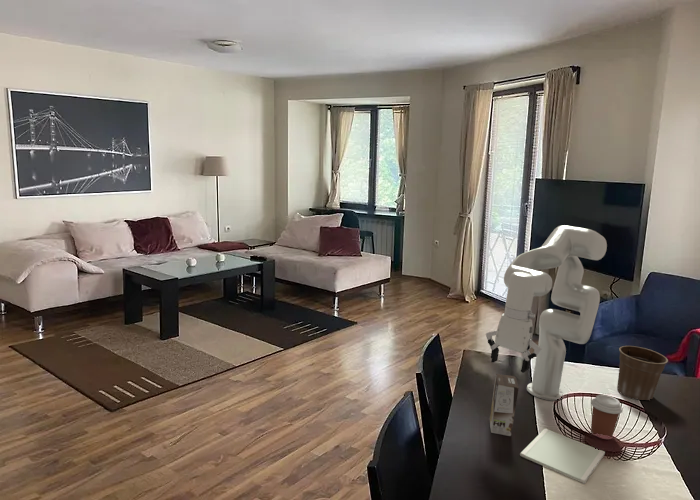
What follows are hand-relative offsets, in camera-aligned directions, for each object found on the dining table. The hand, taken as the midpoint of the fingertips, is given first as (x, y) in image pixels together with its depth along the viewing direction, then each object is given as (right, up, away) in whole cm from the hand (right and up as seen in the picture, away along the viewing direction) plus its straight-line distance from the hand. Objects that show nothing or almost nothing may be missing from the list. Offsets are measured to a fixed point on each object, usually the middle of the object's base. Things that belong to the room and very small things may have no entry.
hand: (508, 366), depth 168 cm
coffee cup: (+31, -23, +6) cm, 39 cm away
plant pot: (+59, -19, +38) cm, 73 cm away
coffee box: (-2, -21, +4) cm, 21 cm away
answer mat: (+13, -24, -8) cm, 29 cm away
